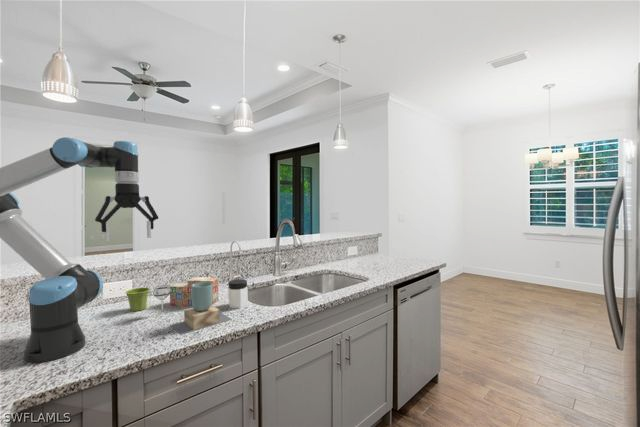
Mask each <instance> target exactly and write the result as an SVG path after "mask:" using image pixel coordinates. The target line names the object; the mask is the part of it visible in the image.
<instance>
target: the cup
mask: <svg viewBox="0 0 640 427" xmlns="http://www.w3.org/2000/svg"><path fill="white" fill-rule="evenodd" d="M191 299H192V306H191V307H192V308H194V309H195V310H196V311H205V310H208V309H209V308H210V307H211V305H212V306H213V304H212V300H213V286H212V283H210V282H200V283H195V284H193V285H191Z"/></svg>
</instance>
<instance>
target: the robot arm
mask: <svg viewBox="0 0 640 427" xmlns="http://www.w3.org/2000/svg"><path fill="white" fill-rule="evenodd" d="M76 165H78V166H79V167H82V168H83V167H84V168H91V169H92V168H114V181H115V186H114V187H115V188H114V189H115V190H114V191H115V195H114V196H110V195H106V196H105V198H104V203H103V204H102V206H101V208H100V210H99V211H98V213H97V215H96V217H95V219H94V221H95V222H97V223H100V224H101V225H100V226H101V232H102V233H104V234H105V236H104V237H105V241H106V242H110V226H109V225H110V223H109V222H108V221H109V220H110V219H111V218H112V217H113V216H114V215H115V213H117V212H118V210H119V209H121V208H122V209H128V208H129V209H133V208H135V209H136V210H138V211H139V212H140V213H141V214H142V215H143V216H144V217H145V218H146V219H147V220H146V237H147V238H148V239H151V238H152V230H154V225H155V224H154V221H156V220H159V219H160V218H159V216H158V214H157V213H156V211H155V208H154V206H152V204H151V202H150V197H149V196H147V195H145V196H140V185H139V182H140V181H139V152H138V145H137V144H136V143H135V142H133V141H125V140H116V141H114V142H113V146H97V145H93V144H91V143H87V142H85V141H83V140H80V139H77V138H73V137H60V138H58V139H56V140H55V141H54V142H53V144H52V147H49V148H47V149H44V150H42V151H39V152H36V153H34V154H32V155H28V156H26V157H24V158H22V159H19V160H16V161H14V162H11V163H9V164H7V165H4V166H1V167H0V239H1V240H2V241H3V242H4V243H5V244H6V245H7V246H8V247H10V248H11V249H12V250H13V251H14V252H15V253H17V255H19V257H21V258H22V259H23V260H24V261H26V263H27V264H28V265H30V266H31V267H32V268H33V269H34V270H35V271H36V272H37V273H39V274H40V275H41V276H42V277H43V278H44V279H41V280H40V281H39V280H38V281H37V282H35V283H34V284H33V285H32V286H31V287H30V288H29V291H28V292H29V293H28V294H29V295H28V297H27V298H28V299H27V300H28V302H29V317H30V318H29V319H30V320H29V321H30V322H29V323H30V335H29V337H28V340H27V343H26V346H25V349H24V351H23V356H24V357H23V358H24V361H26V362H29V363H44V362H49V361H53V360H58V359H61V358H64V357H65V358H66V357H67V356H70V355H73V354H74V353H76V352H78V351H80V350H81V349H83V348H84V347H85V345H86V336H85V334H84V332H83V330H82V328H81V326H80V324H79V317H78V316H79V313H78V312H79V310H78V309H80V308H81V307H83V306H85V305H87V304H88V303H91V302H92V301H94V300H95V299H96V298H97V297H99V295H100V294H101V293H102V291H103V286H104V282H103V278H102V277H101V275H100V274H99V273H98V272H96V271H94V270H89V269H85V268H84V267H83V266H82V265H81V264H80V263H72V262H70V260H69V259H67V257H65V256H64V255H63V254H62V253H61V252H60V251H58V249H56V248H55V246H53V245H52V244H51V243H50V242H49V241H48V240H47V239H46V238H44V236H42V234H40V233H39V232H38V231H37V230H36V229H35V228H33V227H32V225H30V224H29V222H28V221H26V219H24V217H23V216H22V214H23V211H22V209H20V205H19V204H20V201H19V199H18V198H17V196H16V195H15V194H14V193H12V192H14V191H17V190H20V189H22V188H23V187H26V186H29V185H32V184H33V183H34V184H35V183H36V182H39V181H41V180H43V179H46V178H48V177H51V176H53V175H55V174H57V173H60V172H62V171H65V170H67V169H69V168H73V167H75V166H76ZM113 201H115V203H116V205H114V207H113V208H112V209H111V210H110V211H109V212H108V213H107V214H106V215H105V216H104V214H105V213H106V211H107V209H108V207H109V205H110V203H112V202H113ZM140 201H142V202H143V203H144V204H145V206H146V208H147V209H148V211H149V213H148V211H146V210H145V209H144V207H142V206H141V204H139V203H140ZM103 216H104V217H103Z"/></svg>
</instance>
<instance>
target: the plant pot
mask: <svg viewBox="0 0 640 427" xmlns="http://www.w3.org/2000/svg"><path fill="white" fill-rule="evenodd" d="M150 289H151V288H149V287H136V288H132V289H129V290H126V291H125V295H126V296H127V299H128V303H129V309H130V311H131V312H137V311H143V310H146V308H147V305H148V304H147V302H148V295H149V292H150Z"/></svg>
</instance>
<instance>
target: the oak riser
mask: <svg viewBox="0 0 640 427" xmlns="http://www.w3.org/2000/svg"><path fill="white" fill-rule="evenodd" d="M219 312H220V309H219V308H217V307H215V306H213V304H212V305H211V307H210V308H209V309H208V310H205V311H196V310H195V309H194V308H193V307H189V308H186V309H183V316H184V317H183V318H184V320H183V321H184V322H185V323H186V324H187V325H189V326H190V327H191V328H192V329H194V330H195V329H198V328H202V327H205V326H209V325H212V324H215V323H219V322H220V317H219ZM219 324H220V323H219ZM209 327H210V326H209Z"/></svg>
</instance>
